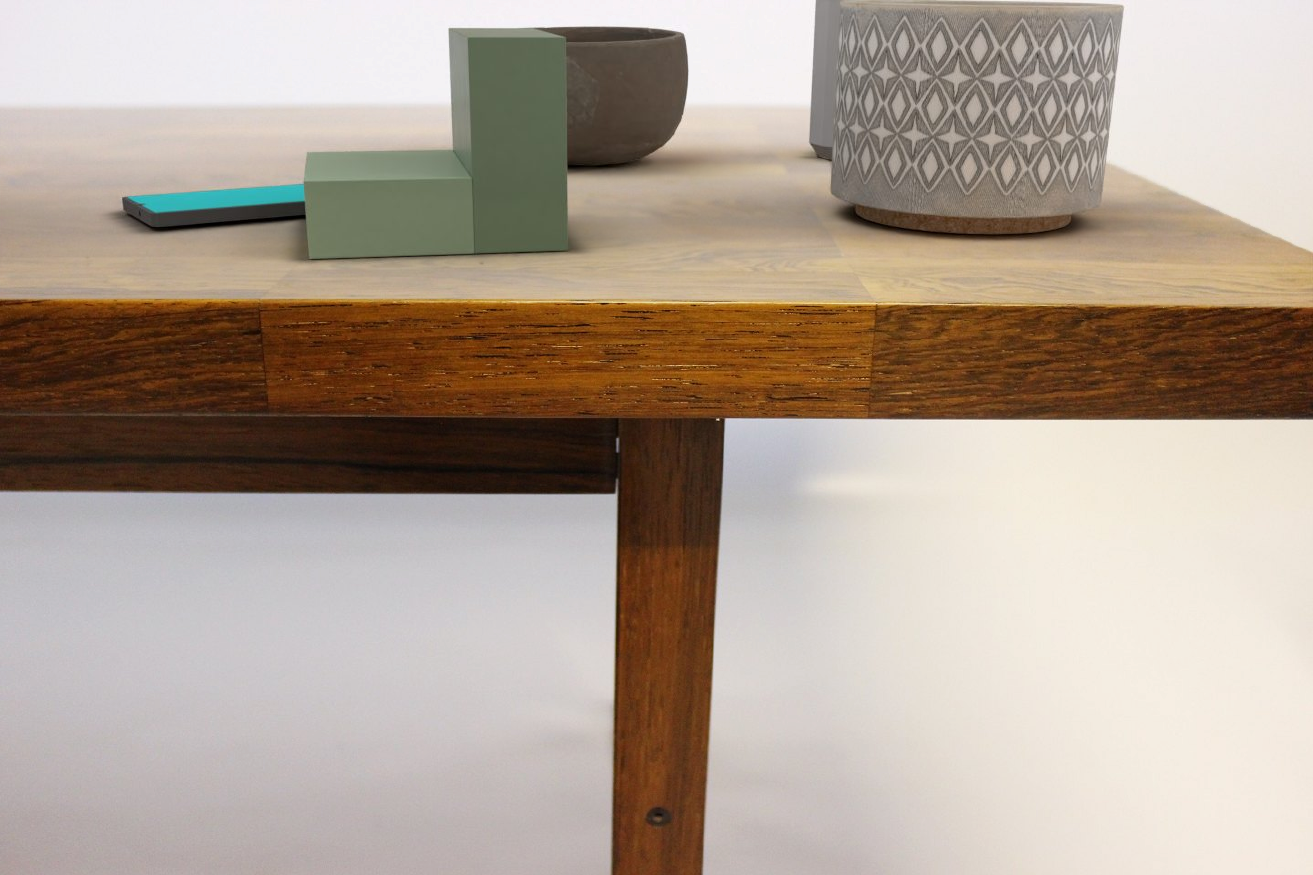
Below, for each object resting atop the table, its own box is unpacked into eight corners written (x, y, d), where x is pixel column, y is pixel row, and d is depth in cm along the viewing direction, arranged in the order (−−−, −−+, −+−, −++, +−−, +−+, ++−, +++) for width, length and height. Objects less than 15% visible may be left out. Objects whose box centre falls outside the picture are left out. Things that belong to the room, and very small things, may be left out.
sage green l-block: (309, 259, 70) (292, 36, 66) (311, 220, 81) (298, 27, 77) (568, 250, 72) (566, 37, 69) (536, 214, 84) (533, 28, 80)
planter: (875, 243, 76) (890, 5, 71) (800, 197, 91) (808, -1, 87) (1148, 237, 78) (1178, 7, 74) (1030, 194, 93) (1050, 1, 89)
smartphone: (399, 194, 84) (151, 213, 76) (400, 207, 84) (153, 228, 77) (355, 179, 90) (120, 196, 82) (355, 192, 90) (121, 210, 82)
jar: (861, 167, 106) (876, -79, 100) (783, 153, 114) (793, -76, 108) (951, 159, 111) (970, -75, 105) (871, 147, 119) (884, -72, 113)
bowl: (526, 180, 97) (523, 35, 94) (437, 153, 111) (432, 26, 108) (730, 167, 105) (734, 33, 102) (622, 143, 119) (623, 25, 116)
